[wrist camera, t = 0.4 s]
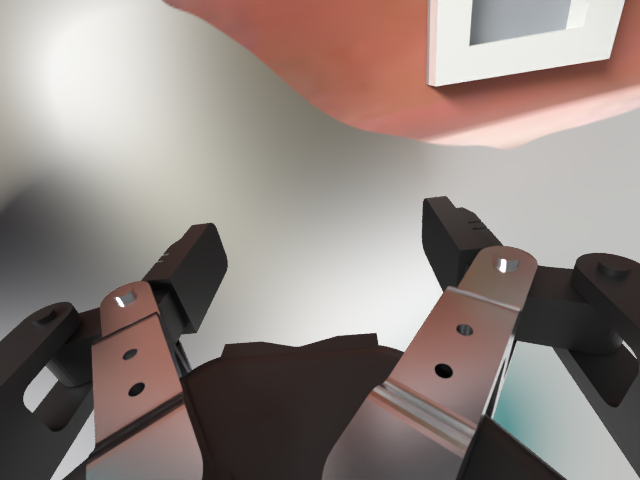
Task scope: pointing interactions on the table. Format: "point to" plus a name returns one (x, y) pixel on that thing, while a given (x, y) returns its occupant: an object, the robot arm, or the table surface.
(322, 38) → the table surface
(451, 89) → the table surface
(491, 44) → the bottle stand
